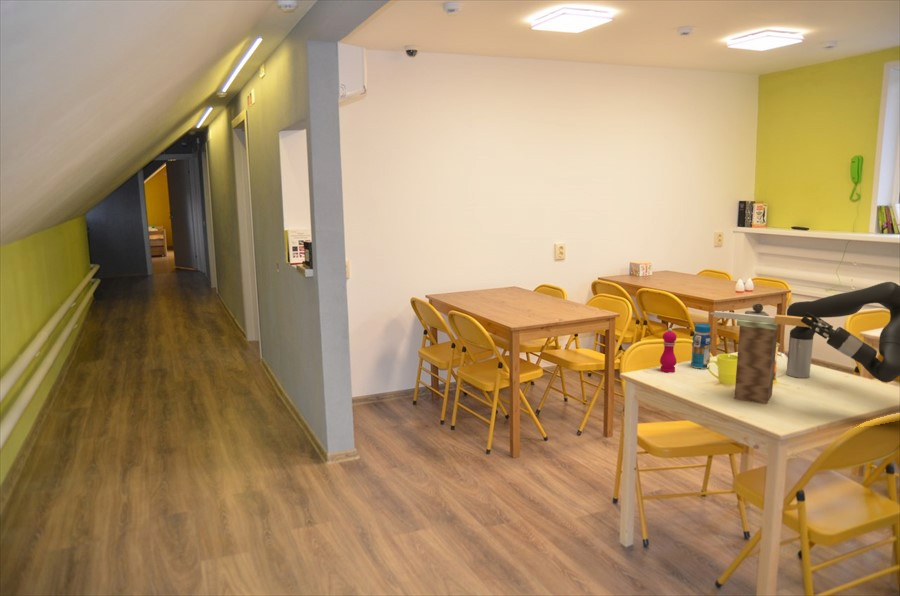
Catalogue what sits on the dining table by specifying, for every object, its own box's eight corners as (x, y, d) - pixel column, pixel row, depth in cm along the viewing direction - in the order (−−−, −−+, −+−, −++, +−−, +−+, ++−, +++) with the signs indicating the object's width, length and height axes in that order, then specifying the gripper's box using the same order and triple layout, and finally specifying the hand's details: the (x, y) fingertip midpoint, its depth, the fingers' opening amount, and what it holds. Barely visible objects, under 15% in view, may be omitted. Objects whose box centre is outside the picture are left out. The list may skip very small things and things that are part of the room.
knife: (810, 325, 247) (811, 318, 246) (809, 327, 244) (810, 319, 244) (711, 315, 266) (711, 308, 265) (709, 316, 263) (709, 309, 263)
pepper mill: (661, 373, 297) (664, 329, 293) (657, 368, 304) (659, 326, 300) (678, 373, 297) (680, 329, 293) (673, 368, 304) (675, 326, 300)
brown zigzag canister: (775, 394, 267) (781, 317, 261) (769, 405, 255) (776, 324, 249) (738, 388, 275) (743, 313, 269) (731, 398, 262) (737, 320, 256)
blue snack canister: (688, 364, 310) (690, 323, 307) (706, 364, 310) (708, 323, 306) (693, 369, 302) (696, 327, 298) (712, 369, 302) (715, 327, 298)
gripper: (852, 330, 244) (811, 305, 250) (850, 338, 232) (808, 311, 239) (839, 346, 247) (799, 320, 254) (836, 354, 236) (794, 327, 242)
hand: (803, 316), depth 246 cm, fingers open, 8 cm apart
